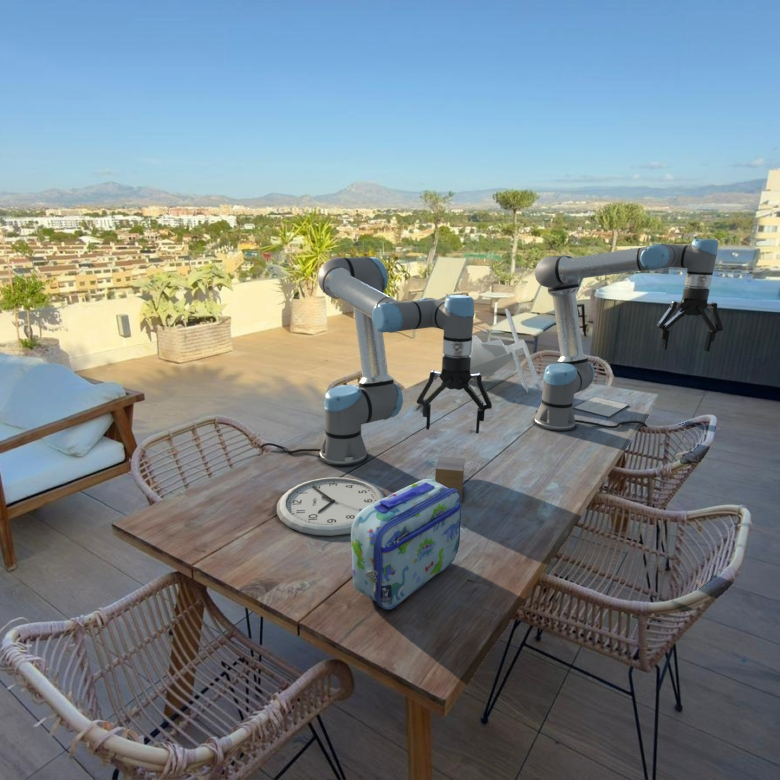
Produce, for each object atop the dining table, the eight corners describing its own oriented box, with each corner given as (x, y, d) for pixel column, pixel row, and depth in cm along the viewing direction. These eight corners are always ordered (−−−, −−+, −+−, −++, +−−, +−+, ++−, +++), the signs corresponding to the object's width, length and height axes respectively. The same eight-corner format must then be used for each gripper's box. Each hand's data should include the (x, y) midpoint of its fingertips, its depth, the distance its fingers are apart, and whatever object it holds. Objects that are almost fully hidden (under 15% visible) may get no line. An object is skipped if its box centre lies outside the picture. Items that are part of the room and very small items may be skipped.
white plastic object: (474, 421, 262) (452, 398, 237) (456, 348, 284) (434, 320, 259) (546, 397, 250) (531, 370, 225) (521, 322, 272) (505, 290, 247)
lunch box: (380, 623, 100) (381, 528, 94) (344, 596, 108) (343, 505, 101) (464, 565, 118) (470, 482, 112) (428, 545, 125) (432, 466, 119)
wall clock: (392, 527, 129) (268, 531, 127) (391, 533, 130) (269, 537, 127) (383, 473, 158) (282, 475, 155) (383, 478, 158) (282, 480, 156)
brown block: (436, 485, 155) (438, 456, 152) (462, 487, 154) (464, 458, 151) (434, 498, 147) (435, 468, 144) (461, 501, 146) (463, 471, 143)
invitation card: (608, 416, 214) (573, 407, 224) (608, 416, 214) (573, 408, 224) (628, 404, 229) (594, 396, 238) (628, 405, 229) (594, 397, 238)
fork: (413, 410, 217) (413, 405, 217) (424, 399, 232) (424, 394, 231) (419, 411, 217) (419, 406, 216) (429, 399, 231) (430, 395, 230)
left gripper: (408, 355, 137) (406, 431, 143) (505, 361, 133) (498, 438, 139) (411, 349, 144) (409, 421, 150) (504, 354, 140) (498, 428, 146)
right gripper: (660, 287, 172) (649, 350, 178) (743, 289, 168) (729, 354, 175) (653, 284, 179) (643, 345, 185) (732, 287, 175) (719, 349, 182)
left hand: (452, 429), depth 145 cm, fingers open, 13 cm apart
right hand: (685, 349), depth 180 cm, fingers open, 13 cm apart
